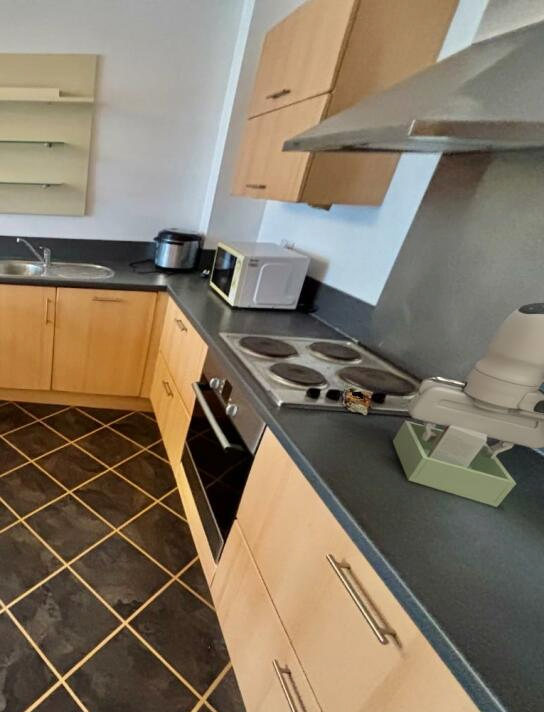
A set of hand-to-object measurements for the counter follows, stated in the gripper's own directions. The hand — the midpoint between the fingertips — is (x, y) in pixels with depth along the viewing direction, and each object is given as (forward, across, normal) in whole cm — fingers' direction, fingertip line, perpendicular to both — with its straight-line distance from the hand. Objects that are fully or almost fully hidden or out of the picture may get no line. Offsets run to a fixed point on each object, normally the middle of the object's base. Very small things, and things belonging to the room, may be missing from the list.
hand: (455, 448), depth 84 cm
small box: (+5, 0, 0) cm, 5 cm away
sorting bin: (+6, 0, 0) cm, 6 cm away
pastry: (+6, -12, +24) cm, 28 cm away
